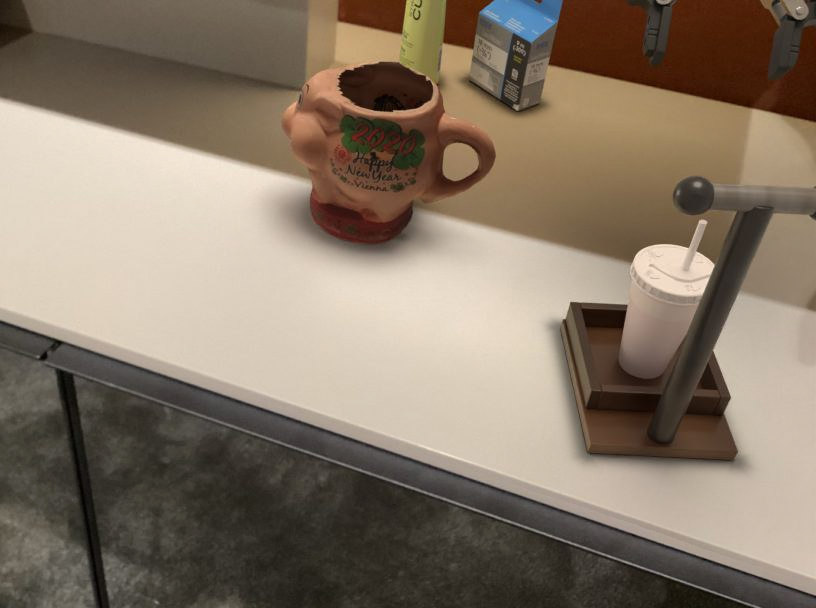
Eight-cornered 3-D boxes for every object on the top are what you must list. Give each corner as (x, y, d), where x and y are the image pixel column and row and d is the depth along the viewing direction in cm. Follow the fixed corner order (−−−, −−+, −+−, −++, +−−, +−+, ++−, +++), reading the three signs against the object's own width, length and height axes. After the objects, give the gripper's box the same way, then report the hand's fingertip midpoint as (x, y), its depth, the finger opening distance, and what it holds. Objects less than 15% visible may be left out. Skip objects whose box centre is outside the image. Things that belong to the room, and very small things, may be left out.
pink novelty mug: (488, 202, 96) (513, 71, 86) (471, 275, 88) (497, 139, 78) (295, 169, 99) (298, 40, 90) (261, 236, 91) (260, 101, 81)
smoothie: (679, 399, 76) (740, 255, 66) (596, 378, 77) (645, 235, 67) (684, 347, 80) (743, 205, 70) (606, 329, 81) (653, 187, 71)
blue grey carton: (466, 80, 114) (482, -25, 106) (491, 72, 116) (509, -32, 107) (516, 112, 109) (538, 5, 101) (542, 103, 111) (565, -3, 102)
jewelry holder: (688, 333, 83) (791, 82, 66) (734, 460, 72) (869, 199, 56) (559, 327, 83) (631, 74, 67) (587, 453, 73) (680, 190, 56)
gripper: (666, -188, 68) (627, 39, 68) (879, -170, 66) (839, 63, 66) (643, -130, 75) (607, 75, 75) (834, -112, 73) (798, 98, 73)
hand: (716, 69), depth 71 cm, fingers open, 8 cm apart
